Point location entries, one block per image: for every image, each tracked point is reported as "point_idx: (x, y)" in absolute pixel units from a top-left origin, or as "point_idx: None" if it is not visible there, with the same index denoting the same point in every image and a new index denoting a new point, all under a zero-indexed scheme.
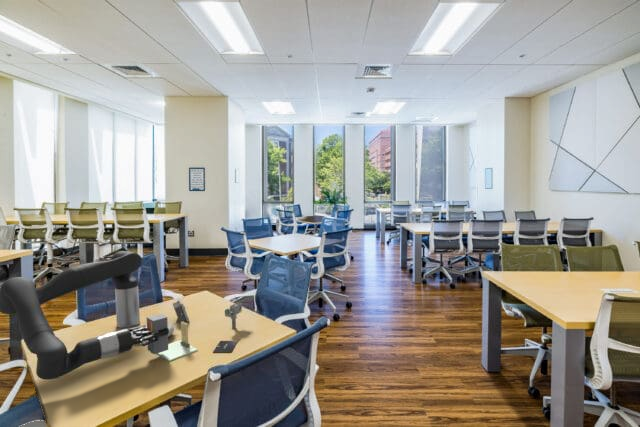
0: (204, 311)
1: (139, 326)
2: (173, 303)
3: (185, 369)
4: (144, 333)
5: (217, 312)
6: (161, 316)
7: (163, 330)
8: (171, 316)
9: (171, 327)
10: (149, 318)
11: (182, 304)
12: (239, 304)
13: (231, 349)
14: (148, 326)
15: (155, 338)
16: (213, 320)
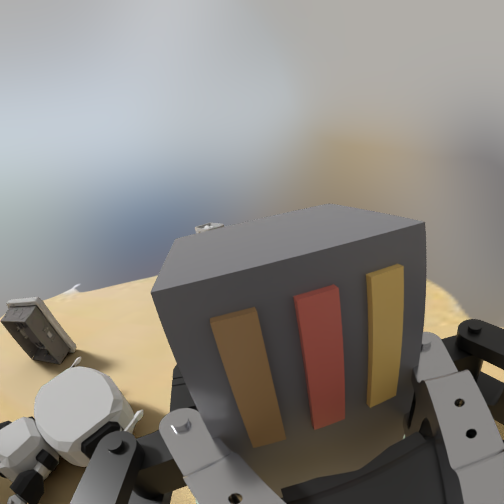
0: (68, 319)
1: (85, 484)
2: (2, 318)
3: (488, 369)
4: (487, 427)
5: (101, 306)
6: (278, 219)
7: None
8: (11, 364)
9: (103, 375)
10: (268, 259)
11: (39, 299)
12: (214, 223)
13: None
14: (278, 399)
15: (480, 372)
16: (132, 315)
